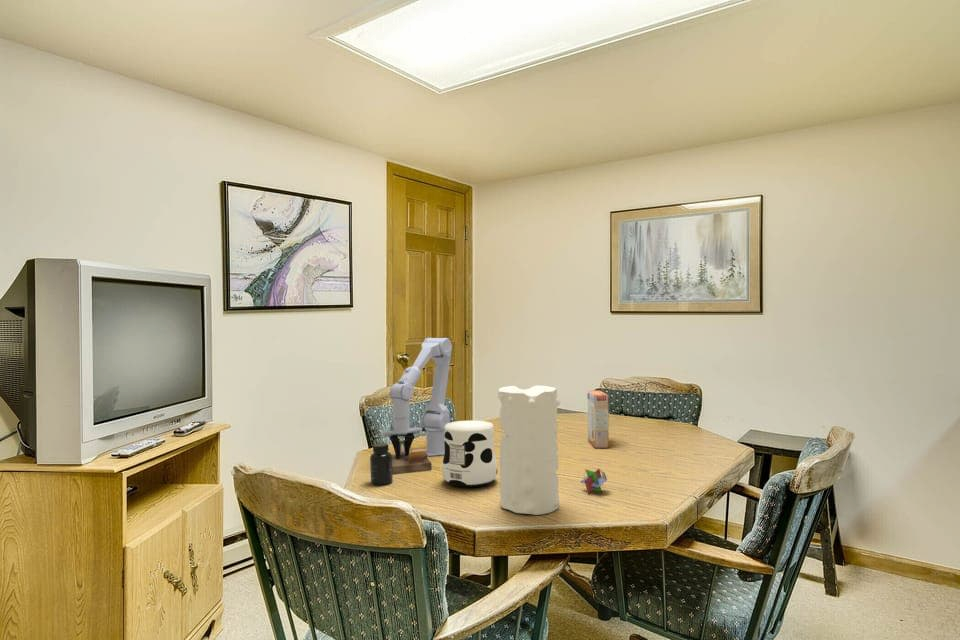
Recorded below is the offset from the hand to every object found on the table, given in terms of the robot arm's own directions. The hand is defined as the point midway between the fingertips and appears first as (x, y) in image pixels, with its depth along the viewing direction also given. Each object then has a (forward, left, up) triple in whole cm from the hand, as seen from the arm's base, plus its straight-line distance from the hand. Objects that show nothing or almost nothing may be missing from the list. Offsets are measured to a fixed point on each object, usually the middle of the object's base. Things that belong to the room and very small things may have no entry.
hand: (402, 455), depth 190 cm
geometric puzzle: (-47, +51, -3) cm, 69 cm away
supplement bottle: (+10, +19, -3) cm, 22 cm away
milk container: (-16, +29, -3) cm, 33 cm away
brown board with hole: (-1, +3, -3) cm, 4 cm away
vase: (-25, +55, -3) cm, 61 cm away
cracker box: (-79, 0, -3) cm, 79 cm away
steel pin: (0, 0, -2) cm, 2 cm away
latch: (-4, +8, +1) cm, 9 cm away
